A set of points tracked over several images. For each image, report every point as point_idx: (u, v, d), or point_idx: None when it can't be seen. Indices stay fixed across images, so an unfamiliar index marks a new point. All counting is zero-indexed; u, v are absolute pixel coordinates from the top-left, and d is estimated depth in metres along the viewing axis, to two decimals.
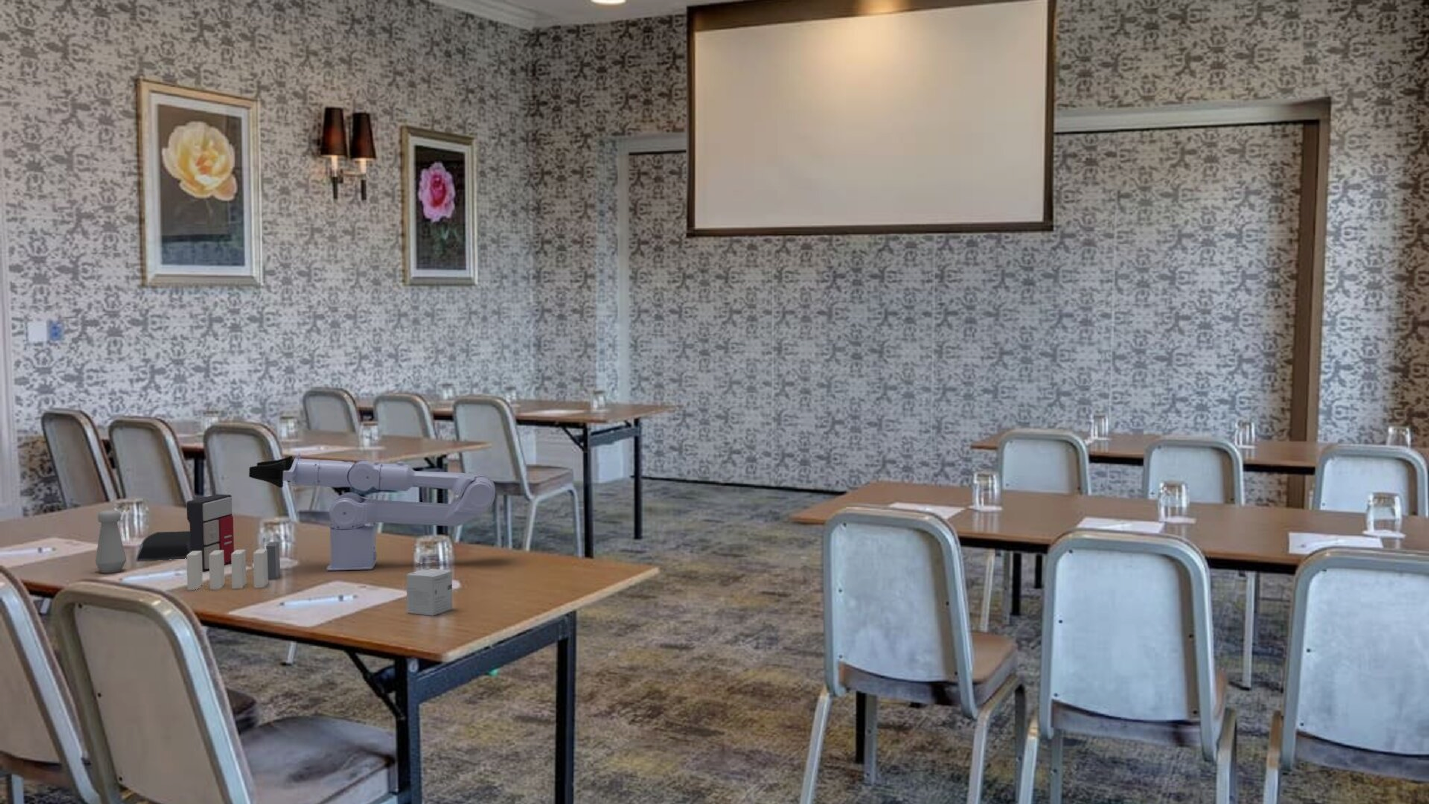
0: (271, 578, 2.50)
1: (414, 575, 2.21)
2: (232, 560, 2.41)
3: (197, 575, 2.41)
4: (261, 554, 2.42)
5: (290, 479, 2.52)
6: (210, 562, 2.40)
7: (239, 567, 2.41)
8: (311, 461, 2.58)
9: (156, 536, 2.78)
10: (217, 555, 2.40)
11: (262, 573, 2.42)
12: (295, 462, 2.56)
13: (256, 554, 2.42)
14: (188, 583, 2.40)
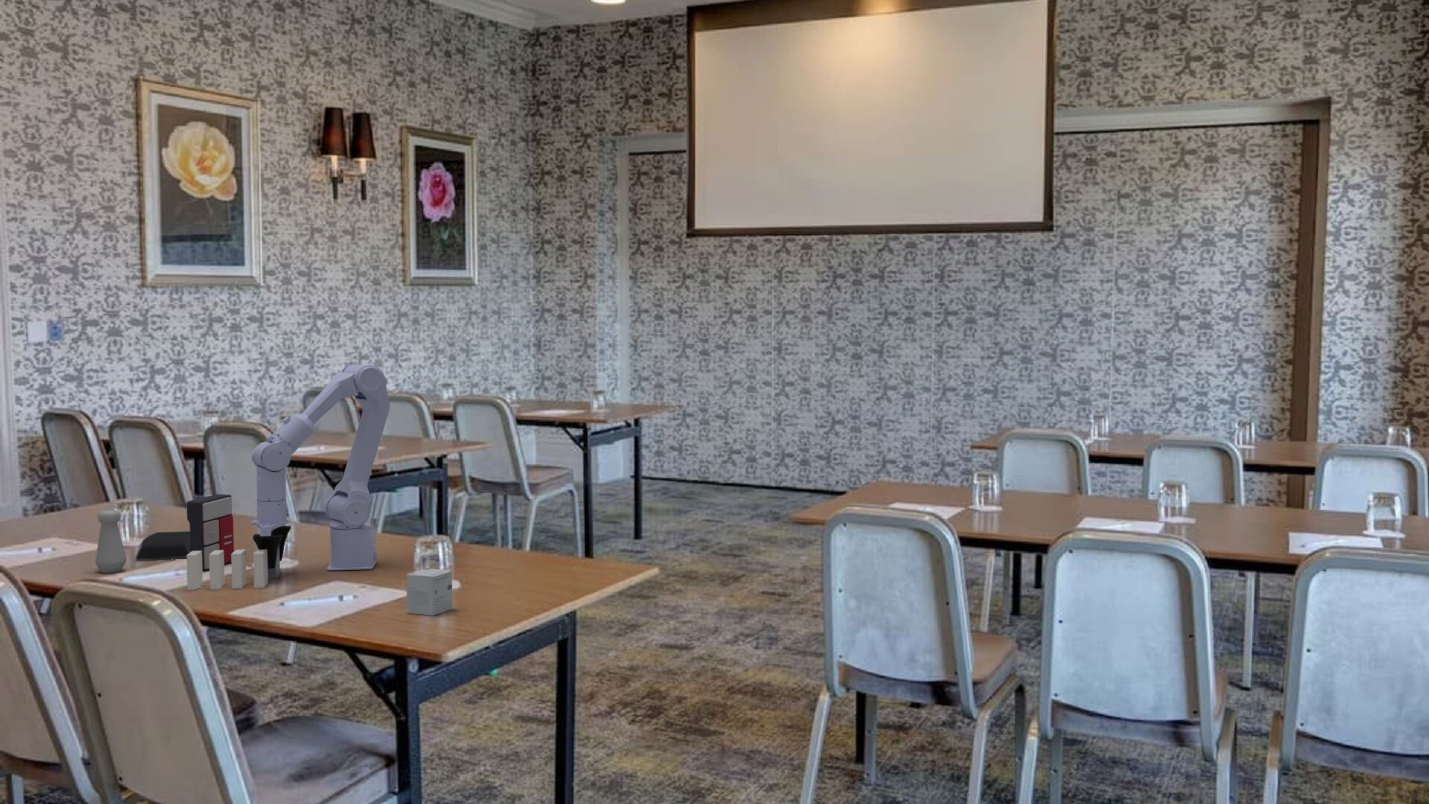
0: (271, 578, 2.50)
1: (414, 575, 2.21)
2: (233, 560, 2.41)
3: (197, 575, 2.41)
4: (261, 554, 2.42)
5: (268, 528, 2.44)
6: (210, 562, 2.40)
7: (239, 567, 2.41)
8: (257, 508, 2.49)
9: (156, 536, 2.78)
10: (217, 555, 2.40)
11: (262, 573, 2.42)
12: (257, 524, 2.48)
13: (256, 554, 2.42)
14: (188, 583, 2.40)
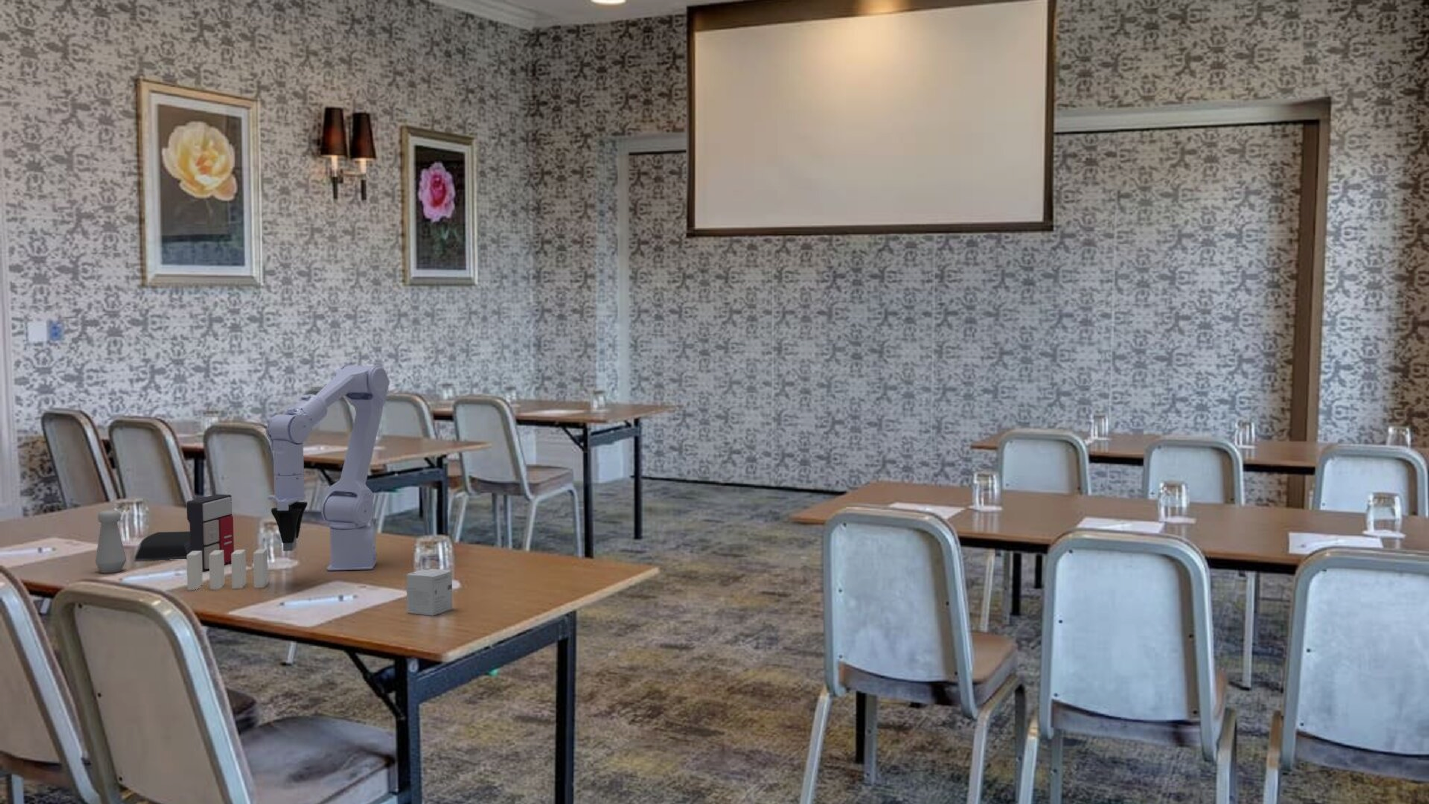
0: (287, 549, 2.43)
1: (414, 575, 2.21)
2: (232, 560, 2.41)
3: (197, 575, 2.41)
4: (261, 554, 2.42)
5: (285, 502, 2.37)
6: (210, 562, 2.40)
7: (239, 567, 2.41)
8: (274, 483, 2.42)
9: (156, 536, 2.78)
10: (217, 555, 2.40)
11: (262, 573, 2.42)
12: (274, 499, 2.41)
13: (256, 554, 2.42)
14: (188, 583, 2.40)
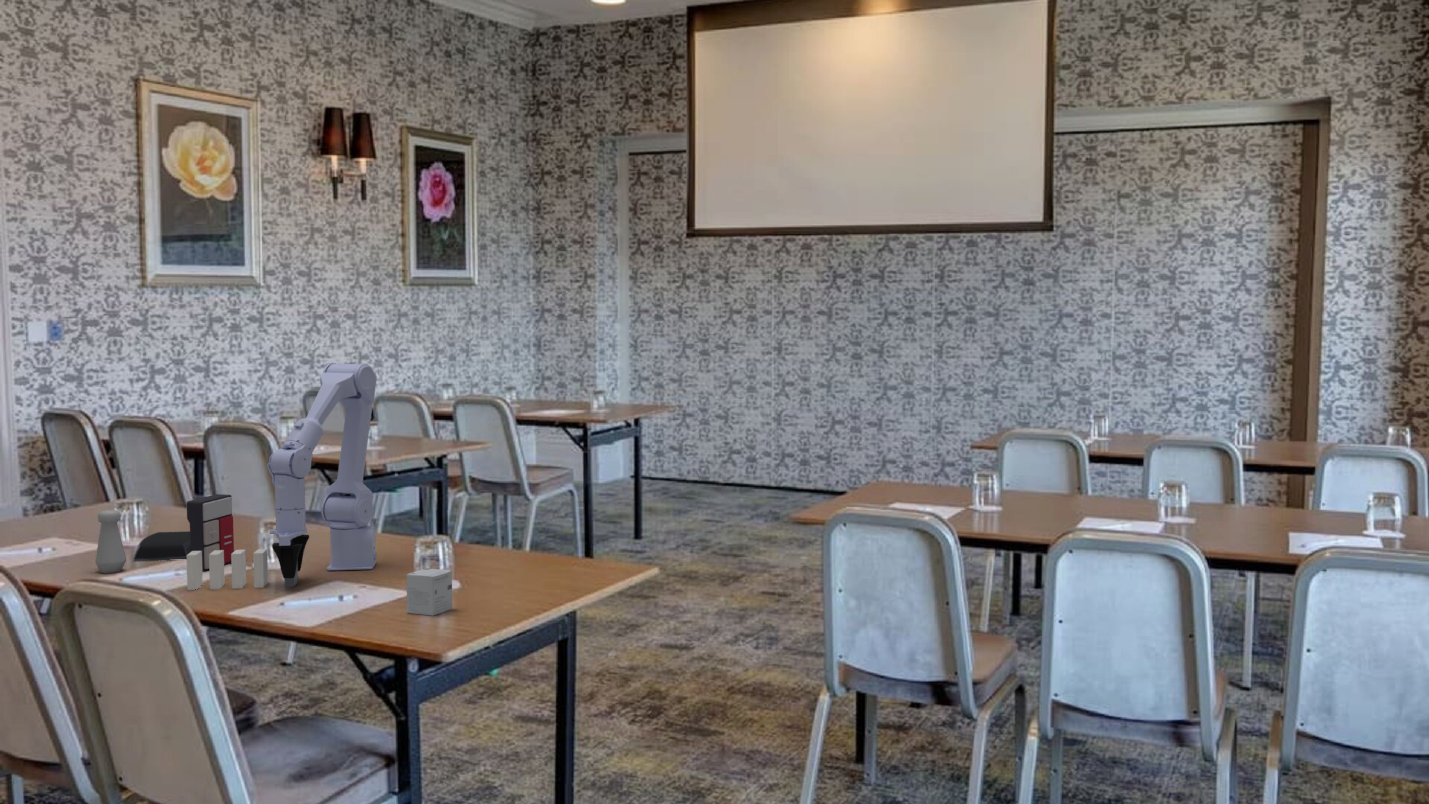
0: (289, 585, 2.43)
1: (414, 575, 2.21)
2: (232, 560, 2.41)
3: (197, 575, 2.41)
4: (261, 554, 2.42)
5: (287, 537, 2.38)
6: (210, 562, 2.40)
7: (239, 567, 2.41)
8: (276, 517, 2.43)
9: (155, 536, 2.78)
10: (217, 555, 2.40)
11: (262, 573, 2.42)
12: (276, 533, 2.42)
13: (256, 554, 2.42)
14: (188, 583, 2.40)
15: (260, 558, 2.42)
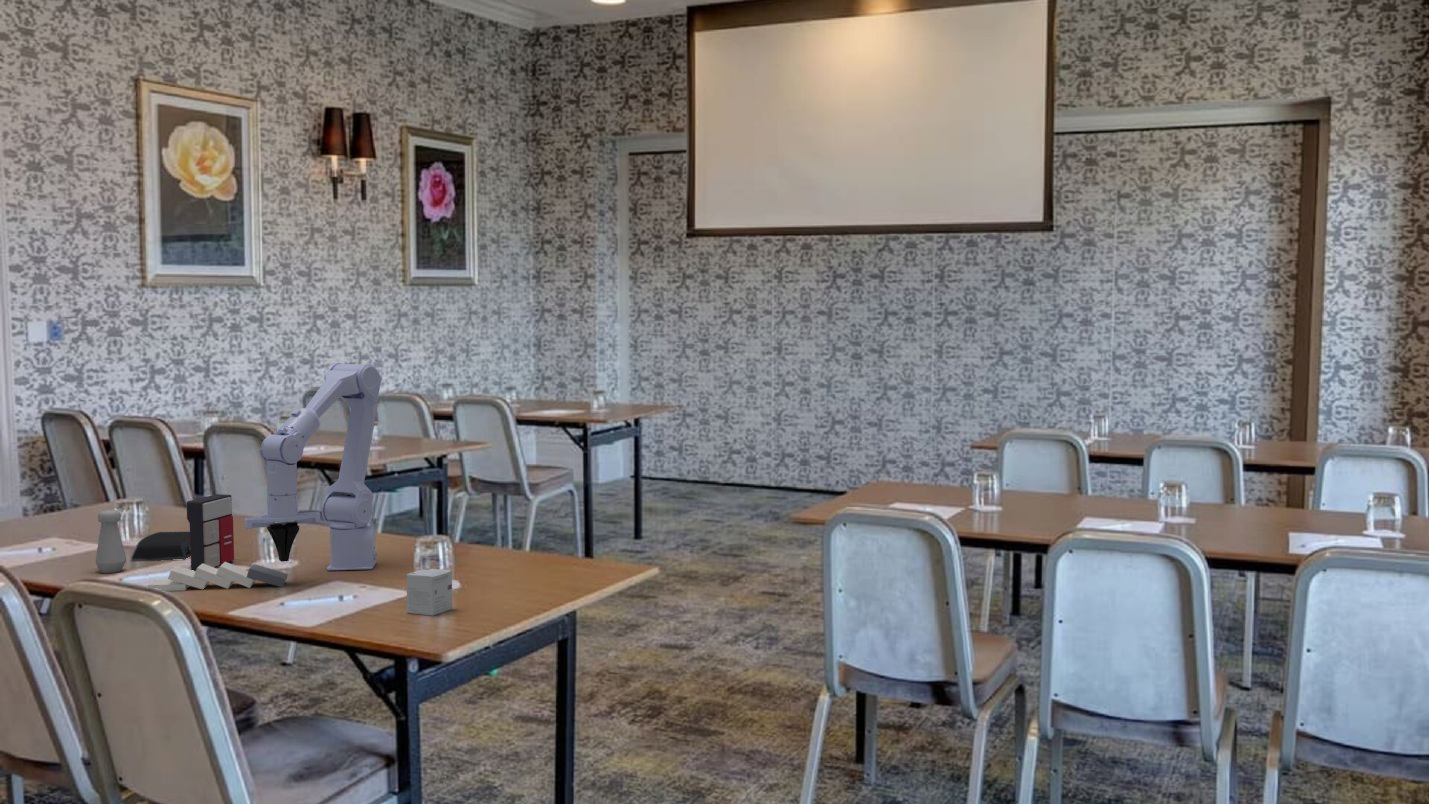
0: (281, 582, 2.43)
1: (414, 575, 2.21)
2: (200, 577, 2.40)
3: (171, 584, 2.40)
4: (220, 567, 2.41)
5: (246, 521, 2.39)
6: (176, 580, 2.39)
7: (210, 574, 2.41)
8: None
9: (155, 536, 2.78)
10: (171, 571, 2.39)
11: (239, 575, 2.42)
12: None
13: (218, 572, 2.41)
14: None
15: (224, 570, 2.41)
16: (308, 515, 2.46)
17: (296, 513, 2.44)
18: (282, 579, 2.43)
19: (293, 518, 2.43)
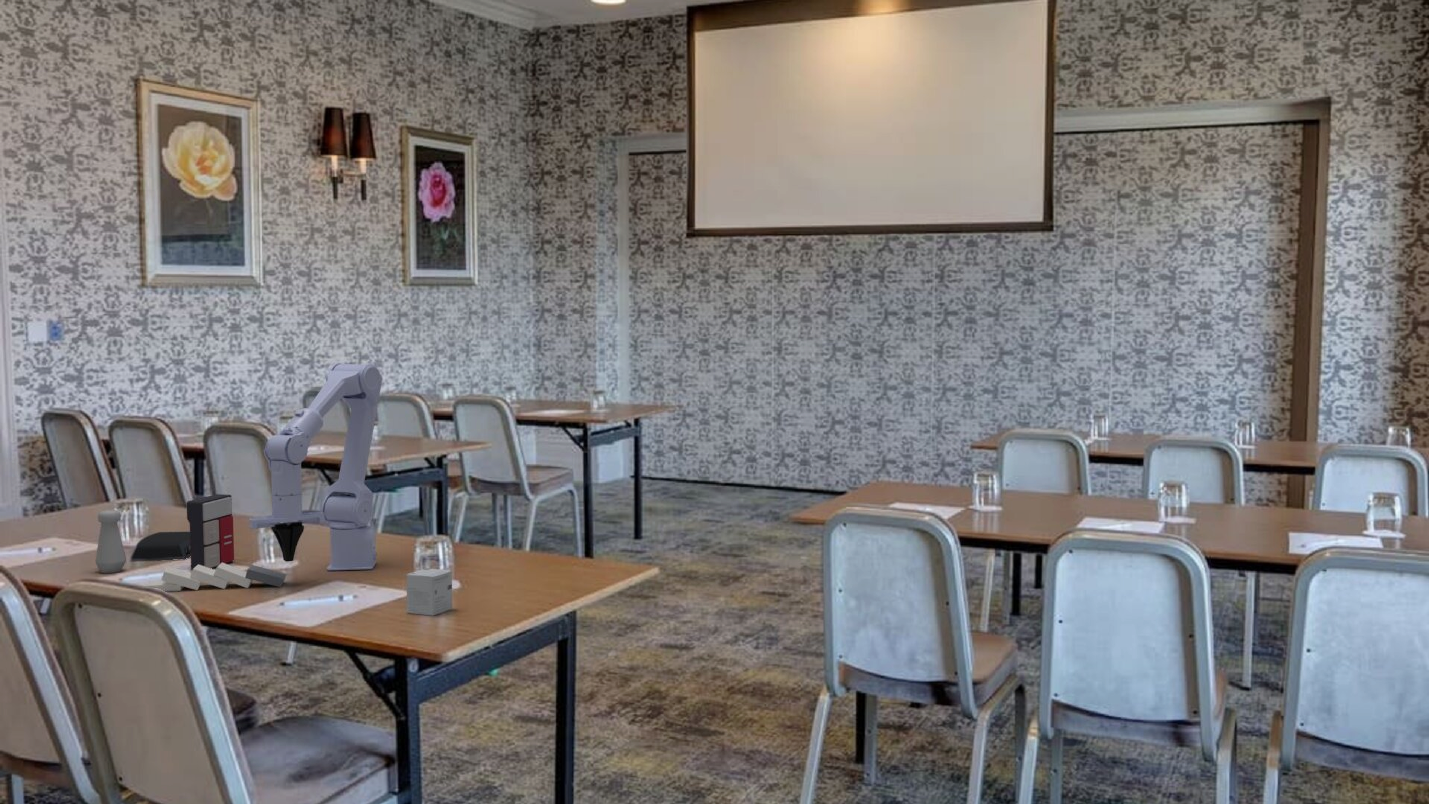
0: (280, 582, 2.43)
1: (414, 575, 2.21)
2: (196, 578, 2.40)
3: (166, 584, 2.40)
4: (217, 568, 2.41)
5: (251, 521, 2.39)
6: (169, 581, 2.38)
7: (206, 574, 2.40)
8: None
9: (155, 536, 2.78)
10: (164, 572, 2.38)
11: (237, 575, 2.41)
12: None
13: (215, 572, 2.41)
14: None
15: (221, 571, 2.41)
16: (312, 515, 2.46)
17: (301, 513, 2.44)
18: (281, 579, 2.43)
19: (298, 518, 2.43)
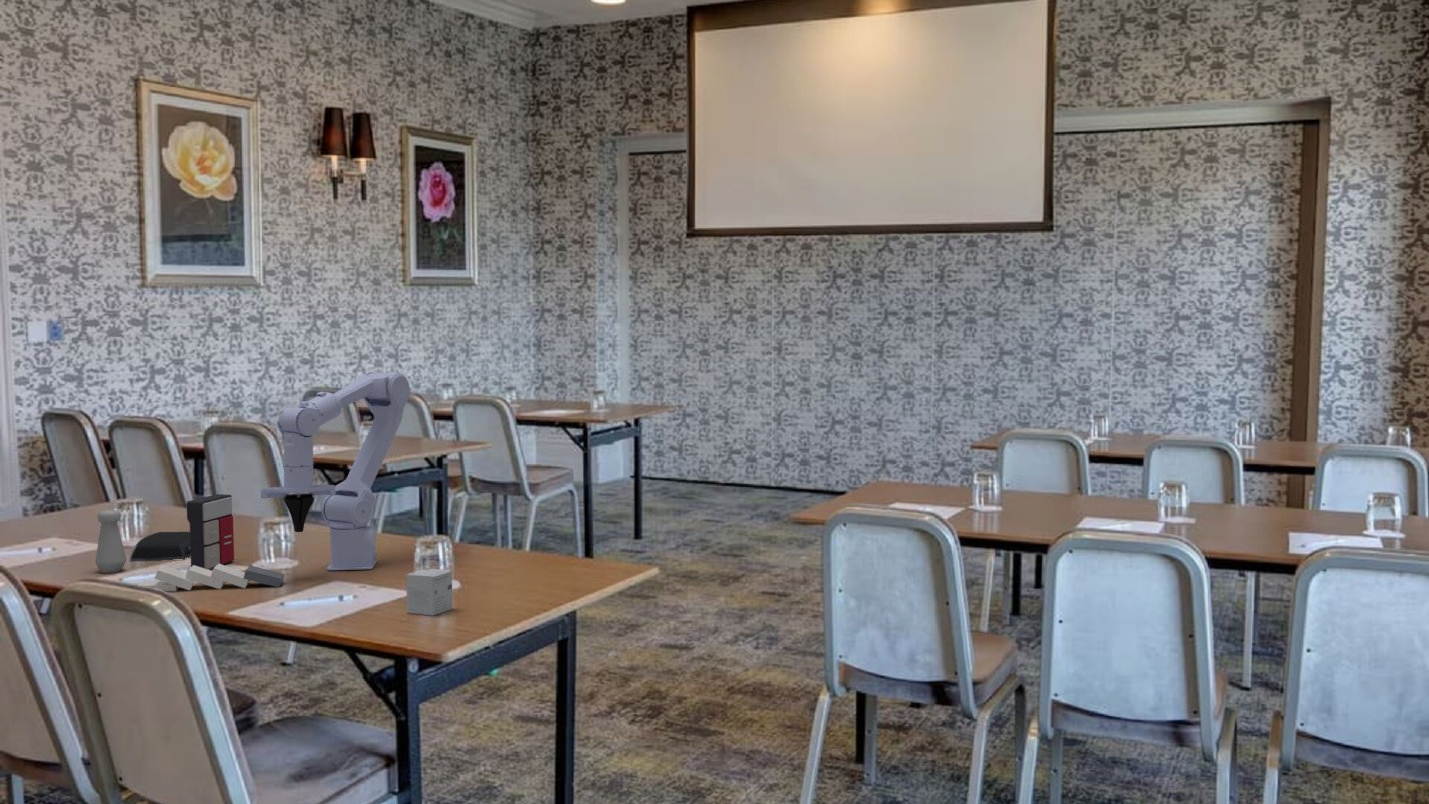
0: (278, 582, 2.43)
1: (414, 575, 2.21)
2: (192, 578, 2.40)
3: (161, 584, 2.39)
4: (214, 569, 2.40)
5: (262, 490, 2.45)
6: (162, 580, 2.38)
7: (201, 575, 2.40)
8: None
9: (155, 536, 2.78)
10: (158, 571, 2.37)
11: (233, 575, 2.41)
12: None
13: (212, 574, 2.40)
14: None
15: (218, 572, 2.41)
16: (323, 487, 2.50)
17: (311, 485, 2.49)
18: (279, 579, 2.43)
19: (308, 489, 2.48)
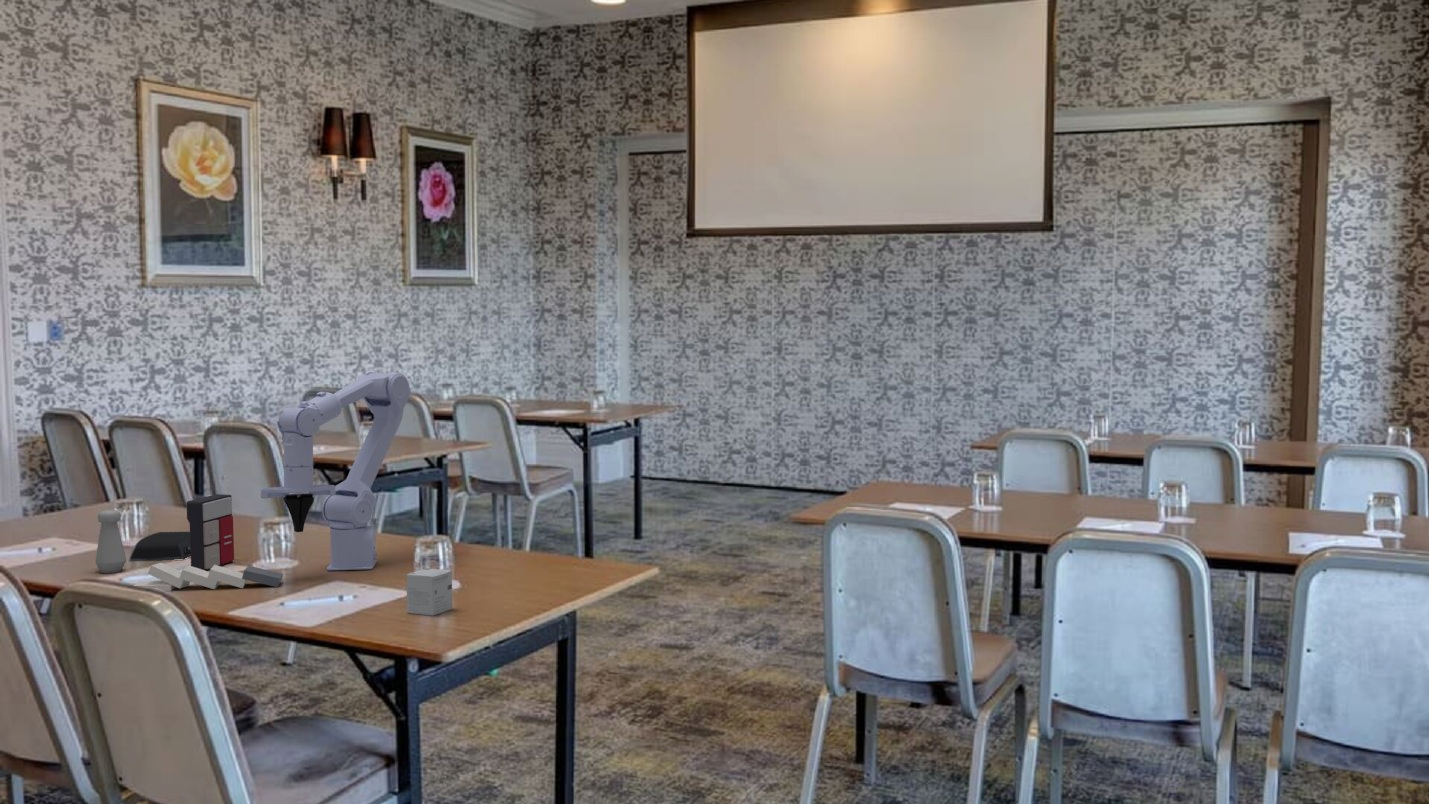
0: (277, 582, 2.43)
1: (414, 575, 2.21)
2: (186, 579, 2.40)
3: (156, 584, 2.39)
4: (211, 570, 2.40)
5: (262, 490, 2.45)
6: (155, 575, 2.39)
7: (195, 575, 2.40)
8: None
9: (155, 536, 2.78)
10: (151, 566, 2.39)
11: (231, 576, 2.41)
12: None
13: (209, 575, 2.40)
14: None
15: (215, 573, 2.40)
16: (323, 487, 2.50)
17: (311, 485, 2.49)
18: (278, 579, 2.43)
19: (308, 489, 2.48)
